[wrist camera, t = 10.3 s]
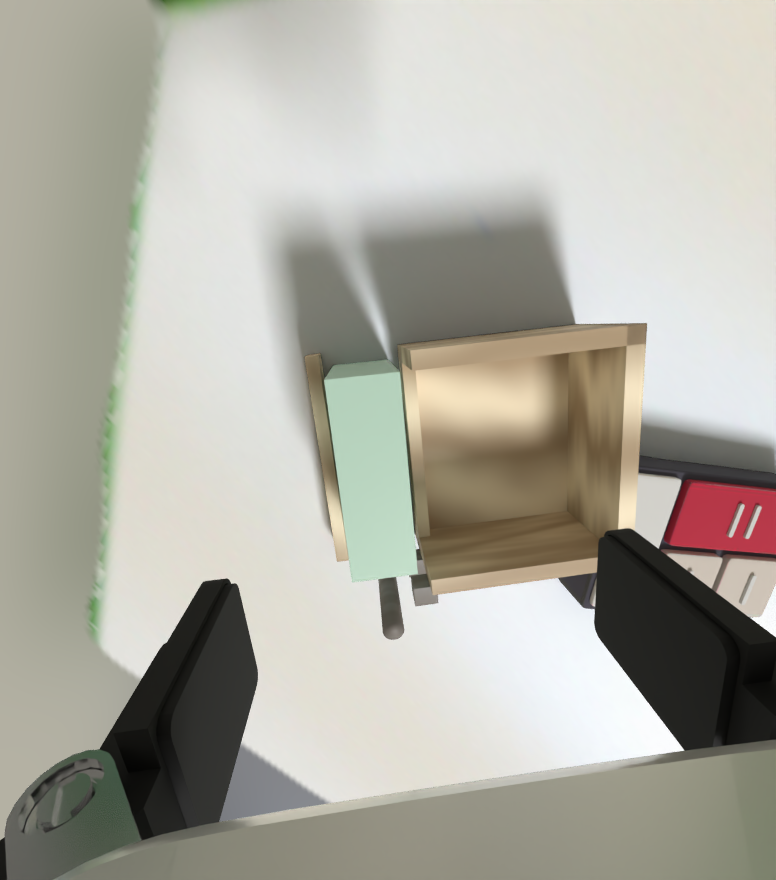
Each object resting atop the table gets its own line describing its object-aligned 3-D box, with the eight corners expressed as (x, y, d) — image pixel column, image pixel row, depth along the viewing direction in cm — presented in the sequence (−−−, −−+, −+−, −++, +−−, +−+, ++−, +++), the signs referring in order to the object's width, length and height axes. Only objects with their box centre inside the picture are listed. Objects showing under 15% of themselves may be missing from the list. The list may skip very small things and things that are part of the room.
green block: (333, 365, 27) (324, 379, 20) (387, 359, 27) (400, 371, 20) (354, 523, 30) (353, 590, 23) (403, 517, 30) (418, 581, 23)
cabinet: (308, 354, 27) (288, 366, 19) (576, 323, 28) (661, 323, 20) (341, 568, 31) (336, 647, 23) (573, 536, 32) (642, 604, 24)
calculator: (767, 625, 31) (586, 616, 29) (717, 590, 35) (555, 580, 33) (827, 490, 29) (633, 468, 26) (765, 469, 33) (593, 448, 30)
